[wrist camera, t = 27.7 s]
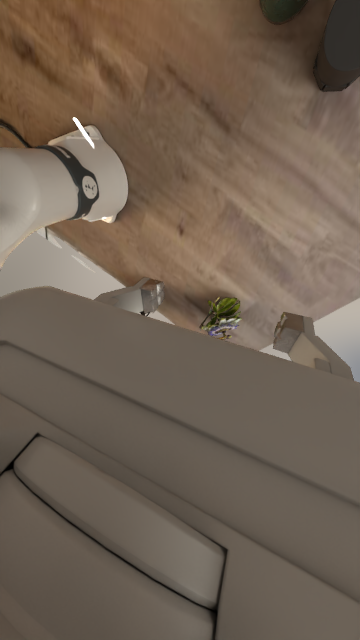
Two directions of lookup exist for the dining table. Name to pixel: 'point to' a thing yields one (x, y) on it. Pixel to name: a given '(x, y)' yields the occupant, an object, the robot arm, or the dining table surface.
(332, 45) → the lid
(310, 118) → the dining table surface
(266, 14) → the thermos
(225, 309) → the passion flower
